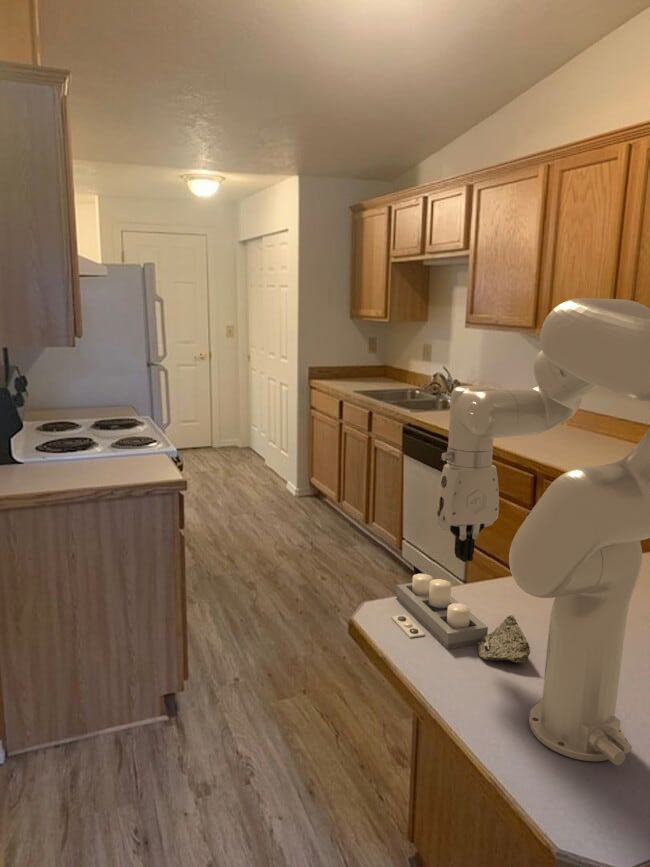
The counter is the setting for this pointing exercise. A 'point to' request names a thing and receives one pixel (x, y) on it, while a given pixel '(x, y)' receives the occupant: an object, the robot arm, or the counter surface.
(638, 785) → the counter surface
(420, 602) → the button board
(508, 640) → the rock sample
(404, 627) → the card
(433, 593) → the button mid
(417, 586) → the button far
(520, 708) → the counter surface
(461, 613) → the button near
